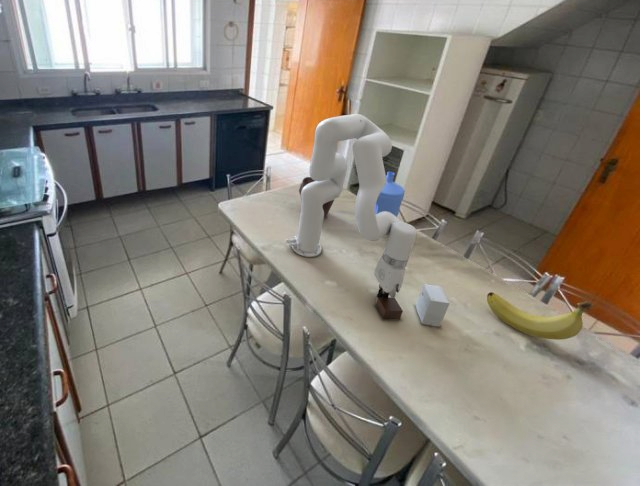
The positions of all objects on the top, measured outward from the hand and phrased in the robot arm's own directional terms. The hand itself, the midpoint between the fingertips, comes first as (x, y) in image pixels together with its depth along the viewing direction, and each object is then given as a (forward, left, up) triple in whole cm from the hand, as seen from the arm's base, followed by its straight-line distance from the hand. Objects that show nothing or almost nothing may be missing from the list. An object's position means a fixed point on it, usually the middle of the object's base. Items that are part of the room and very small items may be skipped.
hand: (381, 298), depth 116 cm
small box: (+13, -7, -1) cm, 15 cm away
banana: (+42, -12, -1) cm, 44 cm away
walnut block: (0, -5, -1) cm, 5 cm away
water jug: (+20, +50, -1) cm, 54 cm away
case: (-9, +59, -1) cm, 60 cm away
